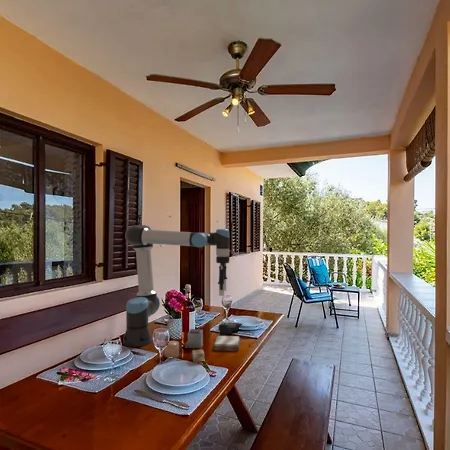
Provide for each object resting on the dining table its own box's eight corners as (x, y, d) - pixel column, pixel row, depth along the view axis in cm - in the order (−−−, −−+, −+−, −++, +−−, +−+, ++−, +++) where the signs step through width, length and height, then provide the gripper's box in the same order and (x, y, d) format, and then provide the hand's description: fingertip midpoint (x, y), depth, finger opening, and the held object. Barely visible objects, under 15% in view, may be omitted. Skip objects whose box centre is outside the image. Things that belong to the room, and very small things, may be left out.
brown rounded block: (162, 358, 150) (162, 345, 150) (167, 352, 157) (167, 340, 157) (177, 358, 149) (176, 346, 149) (180, 353, 156) (180, 341, 156)
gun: (216, 337, 177) (219, 319, 180) (234, 339, 192) (237, 322, 195) (222, 338, 174) (226, 320, 177) (240, 340, 190) (243, 323, 193)
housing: (187, 347, 163) (187, 332, 163) (190, 343, 169) (190, 328, 169) (200, 347, 162) (200, 332, 163) (202, 343, 168) (202, 328, 169)
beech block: (193, 363, 144) (193, 354, 144) (192, 358, 149) (192, 350, 149) (204, 361, 146) (204, 353, 146) (202, 357, 150) (202, 349, 150)
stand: (213, 350, 159) (213, 344, 159) (216, 340, 172) (216, 335, 172) (238, 350, 158) (238, 345, 158) (240, 341, 171) (240, 336, 171)
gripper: (227, 258, 165) (227, 298, 165) (230, 254, 190) (230, 288, 190) (213, 258, 166) (213, 297, 165) (218, 254, 190) (218, 288, 190)
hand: (222, 293), depth 178 cm, fingers open, 13 cm apart
